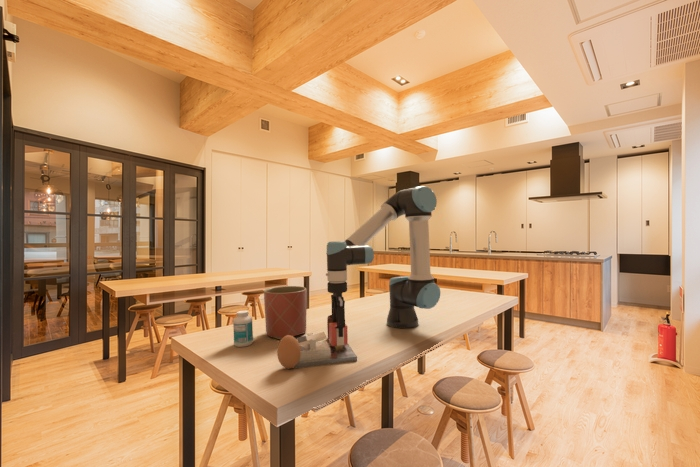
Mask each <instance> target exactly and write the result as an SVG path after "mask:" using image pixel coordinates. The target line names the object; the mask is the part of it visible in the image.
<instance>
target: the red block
mask: <svg viewBox="0 0 700 467" xmlns="http://www.w3.org/2000/svg"><path fill="white" fill-rule="evenodd" d="M335 327H337V322H336V323H329V339H328V342H329V344H331V346H337V337H336V329H335ZM348 337H349V336H348V325H347V324H346V323H345V327H344V345H349V343H348Z"/></svg>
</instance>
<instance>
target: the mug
mask: <svg viewBox="0 0 700 467" xmlns="http://www.w3.org/2000/svg"><path fill="white" fill-rule="evenodd" d="M326 319H327V325H326V326H327V339H328V340H329V323H334V322H333V321H332V320H333V319H332V314H329V315H328V316H327V318H326Z"/></svg>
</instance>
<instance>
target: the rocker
mask: <svg viewBox="0 0 700 467" xmlns="http://www.w3.org/2000/svg"><path fill="white" fill-rule="evenodd" d="M310 339H316V342H322V341H325V340H327V339H328V337H327V335H326V333H325V332H324V331H322V332H317V333H313V335H309V336H308V335H303V336H300V337H297V338H296V340H297V342H298V344H299V346H302V345H306V344H310Z"/></svg>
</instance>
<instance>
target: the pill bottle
mask: <svg viewBox="0 0 700 467" xmlns="http://www.w3.org/2000/svg"><path fill="white" fill-rule="evenodd" d="M232 323H233V326H232V327H233V345H234V346H235V347H237V348H242V347H243V348H244V347H248V346H250V345H252V344H253V343H254V336H253V335H254V334H253V333H254V331H253V329H254V328H253V318H252V316H250V315H249V310H247V309H245V310H239V311H236V316H235V317H234V319H233V321H232Z"/></svg>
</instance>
